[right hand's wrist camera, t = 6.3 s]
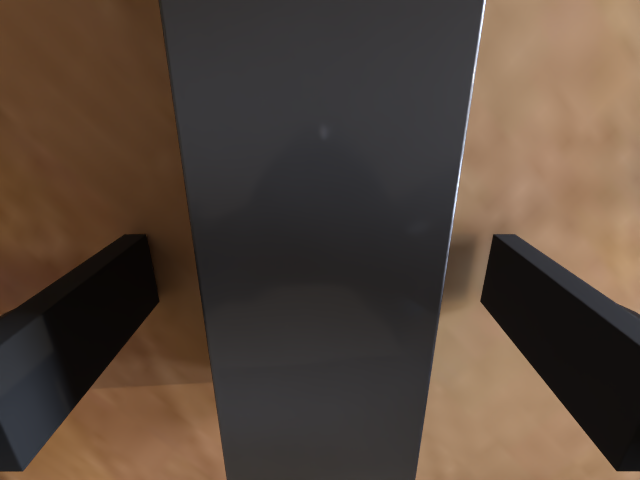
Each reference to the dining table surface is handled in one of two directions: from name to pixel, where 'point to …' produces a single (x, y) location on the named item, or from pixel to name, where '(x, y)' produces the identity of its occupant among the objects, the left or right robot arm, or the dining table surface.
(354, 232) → the rail
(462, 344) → the dining table surface
